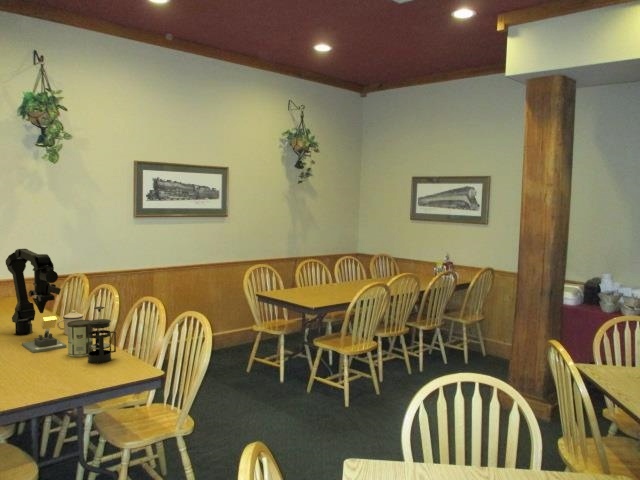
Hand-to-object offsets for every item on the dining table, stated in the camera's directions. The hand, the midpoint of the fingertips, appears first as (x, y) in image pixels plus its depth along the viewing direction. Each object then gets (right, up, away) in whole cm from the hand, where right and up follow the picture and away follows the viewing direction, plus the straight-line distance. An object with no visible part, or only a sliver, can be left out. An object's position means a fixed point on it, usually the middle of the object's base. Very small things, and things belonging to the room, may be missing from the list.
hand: (41, 313), depth 255 cm
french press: (+40, -16, -29) cm, 52 cm away
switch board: (+7, -14, -10) cm, 18 cm away
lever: (+8, -10, -12) cm, 17 cm away
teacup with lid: (+7, -12, +14) cm, 20 cm away
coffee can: (+27, -15, -20) cm, 37 cm away
